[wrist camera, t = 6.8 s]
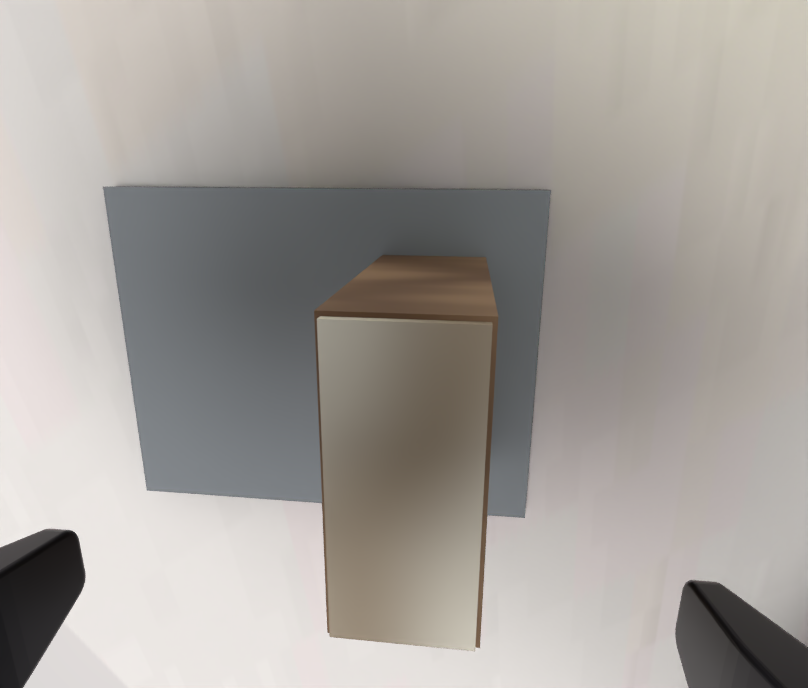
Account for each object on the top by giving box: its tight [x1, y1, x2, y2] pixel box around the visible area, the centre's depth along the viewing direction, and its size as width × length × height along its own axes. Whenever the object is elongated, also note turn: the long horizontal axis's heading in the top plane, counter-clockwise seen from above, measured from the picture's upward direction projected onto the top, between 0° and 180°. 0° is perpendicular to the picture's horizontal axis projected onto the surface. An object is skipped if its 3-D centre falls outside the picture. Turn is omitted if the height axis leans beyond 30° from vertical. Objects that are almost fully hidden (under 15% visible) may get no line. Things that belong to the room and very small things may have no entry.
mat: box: [103, 187, 551, 518], centre depth 19 cm, size 14×11×1 cm
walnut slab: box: [314, 255, 498, 651], centre depth 14 cm, size 3×7×8 cm, turn 0°
